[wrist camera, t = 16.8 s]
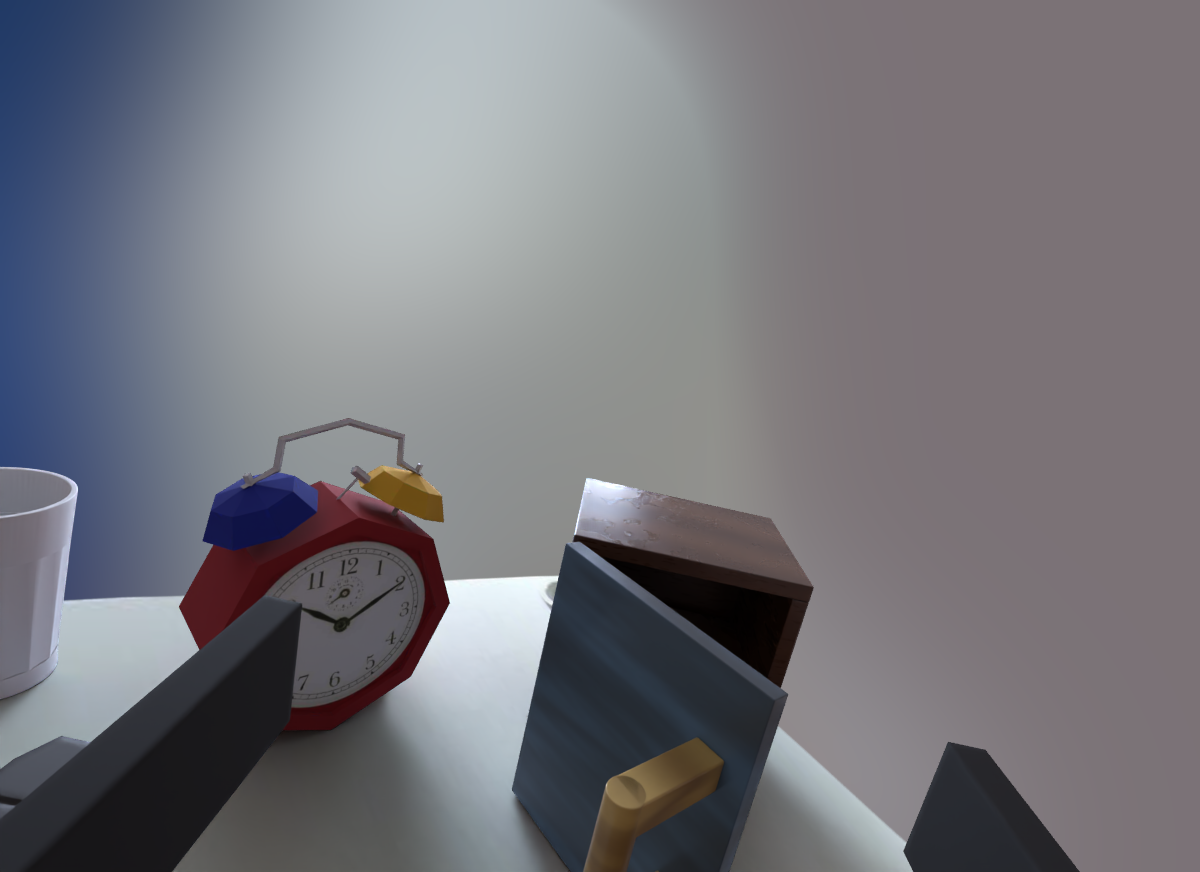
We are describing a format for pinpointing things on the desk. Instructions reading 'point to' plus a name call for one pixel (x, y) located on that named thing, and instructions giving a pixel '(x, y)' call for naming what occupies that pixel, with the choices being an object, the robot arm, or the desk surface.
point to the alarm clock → (328, 576)
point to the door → (640, 731)
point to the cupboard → (704, 567)
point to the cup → (32, 572)
